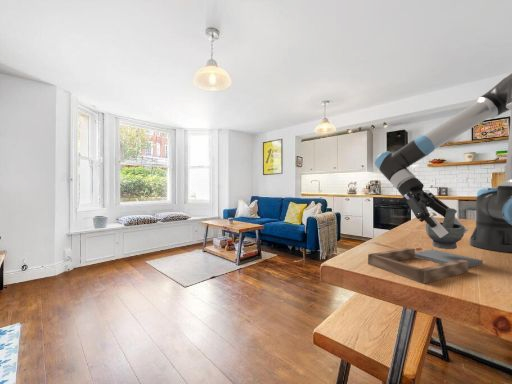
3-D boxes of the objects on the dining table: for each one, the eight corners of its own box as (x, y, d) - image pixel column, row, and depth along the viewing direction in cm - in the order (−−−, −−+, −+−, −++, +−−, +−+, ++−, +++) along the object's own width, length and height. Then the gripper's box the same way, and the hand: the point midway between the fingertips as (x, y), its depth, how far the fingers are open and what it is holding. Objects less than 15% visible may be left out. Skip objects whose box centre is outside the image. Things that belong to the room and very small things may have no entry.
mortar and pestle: (455, 253, 71) (455, 213, 70) (420, 246, 79) (420, 210, 79) (470, 245, 77) (470, 208, 76) (436, 239, 85) (436, 206, 84)
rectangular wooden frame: (410, 256, 81) (410, 247, 81) (467, 271, 67) (468, 261, 67) (368, 263, 73) (368, 254, 73) (423, 283, 58) (424, 271, 58)
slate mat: (432, 252, 87) (433, 249, 87) (482, 263, 74) (482, 260, 74) (411, 255, 82) (412, 253, 82) (461, 269, 69) (461, 265, 69)
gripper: (418, 191, 96) (464, 237, 82) (378, 190, 86) (422, 243, 73) (433, 177, 91) (484, 224, 77) (393, 175, 81) (443, 229, 68)
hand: (454, 234), depth 75 cm, fingers closed on mortar and pestle, 10 cm apart
